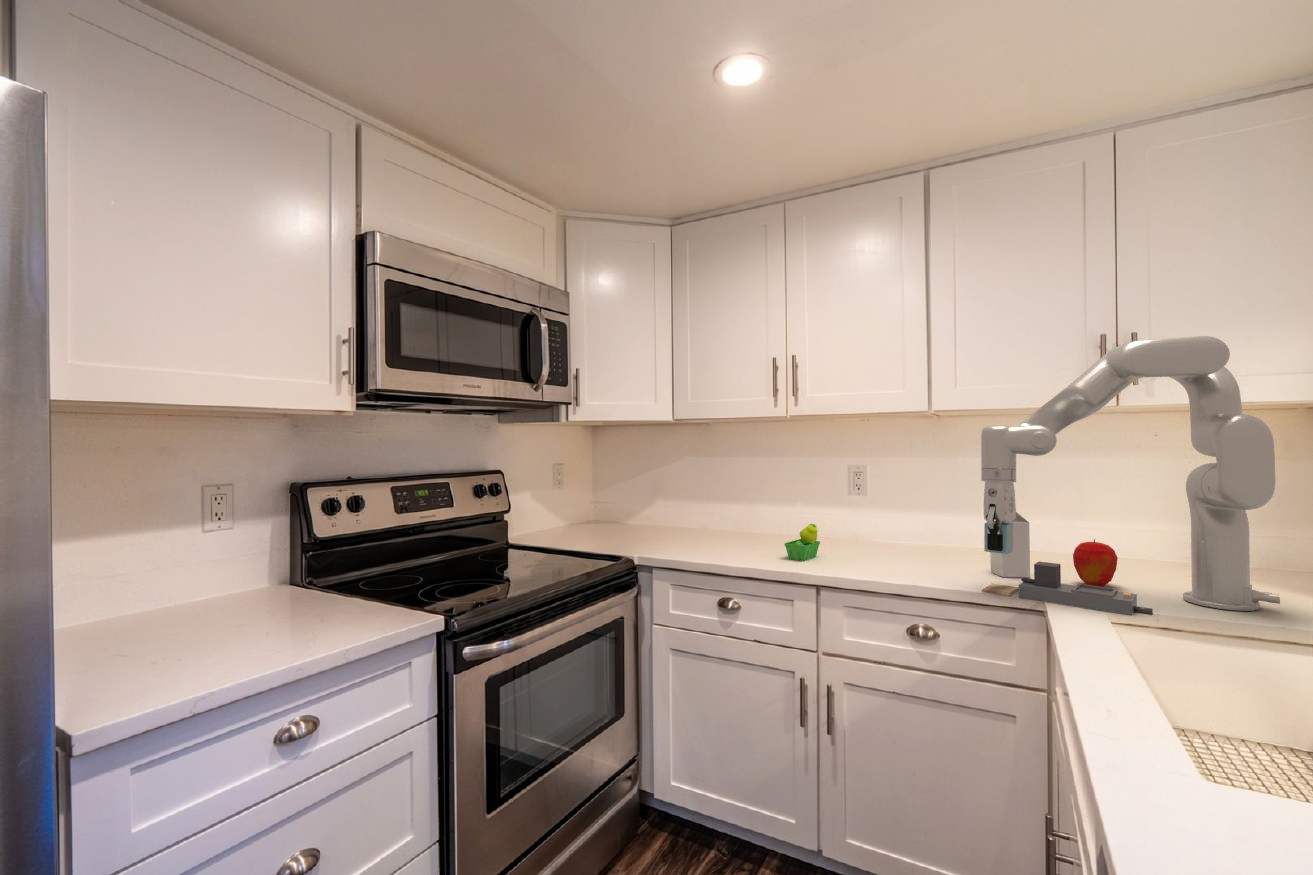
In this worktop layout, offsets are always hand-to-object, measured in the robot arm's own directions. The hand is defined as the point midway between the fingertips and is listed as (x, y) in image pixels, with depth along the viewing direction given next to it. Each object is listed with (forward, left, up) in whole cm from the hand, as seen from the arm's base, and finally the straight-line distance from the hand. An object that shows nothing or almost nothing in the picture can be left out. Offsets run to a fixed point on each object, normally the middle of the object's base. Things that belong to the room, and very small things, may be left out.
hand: (998, 547), depth 147 cm
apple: (-16, -21, -11) cm, 29 cm away
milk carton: (+3, -20, -11) cm, 23 cm away
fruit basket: (+57, -3, -11) cm, 58 cm away
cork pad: (0, 0, -11) cm, 11 cm away
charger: (0, 0, -1) cm, 1 cm away
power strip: (-17, 0, -11) cm, 20 cm away
